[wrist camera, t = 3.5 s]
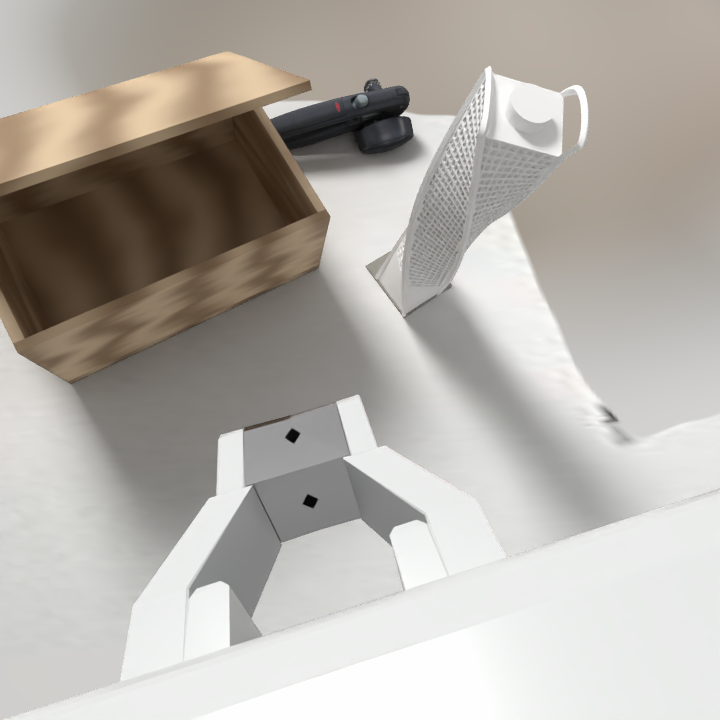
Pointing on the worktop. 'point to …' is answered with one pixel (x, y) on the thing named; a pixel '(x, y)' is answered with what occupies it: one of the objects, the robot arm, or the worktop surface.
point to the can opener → (352, 119)
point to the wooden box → (153, 243)
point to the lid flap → (135, 116)
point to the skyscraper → (476, 182)
